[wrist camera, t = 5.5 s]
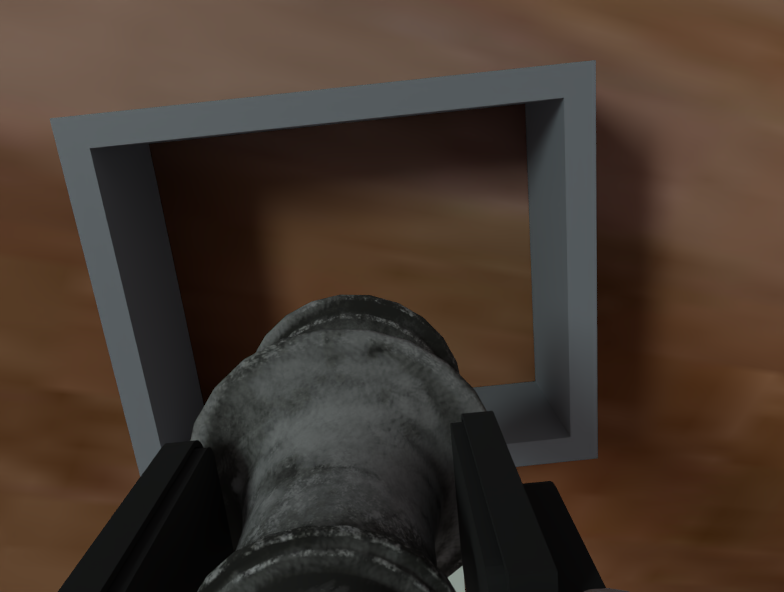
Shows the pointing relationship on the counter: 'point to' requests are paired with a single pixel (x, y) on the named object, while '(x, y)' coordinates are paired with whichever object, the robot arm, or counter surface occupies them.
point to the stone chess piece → (339, 453)
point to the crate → (325, 107)
